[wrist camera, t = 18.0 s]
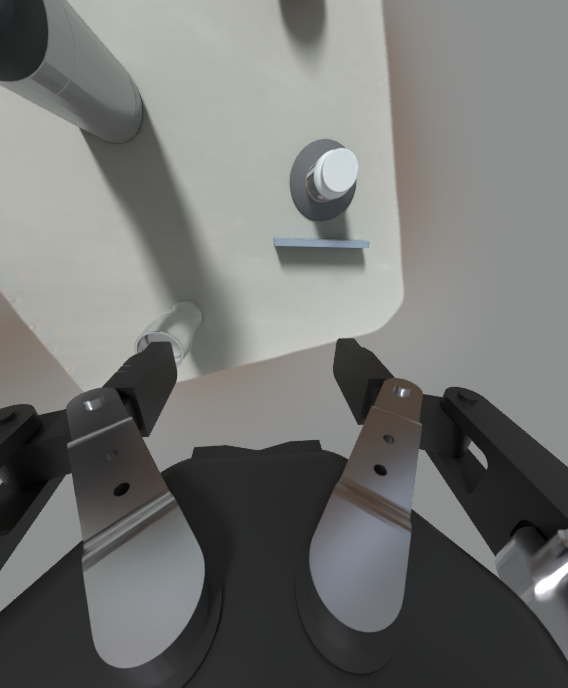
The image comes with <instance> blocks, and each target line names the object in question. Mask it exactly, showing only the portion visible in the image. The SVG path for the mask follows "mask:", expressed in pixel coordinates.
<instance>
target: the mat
mask: <svg viewBox="0 0 568 688" xmlns="http://www.w3.org/2000/svg"><path fill="white" fill-rule="evenodd" d="M339 148H345V147H344V146H343V145H341V144H340V143H338V142H336V141H333V140H329V139H322V140H317V141H315V142H312V143H311V144H309V145H308V146H306V147H305V148H304V149H303V150H302V151H301V152H300V154H299V155H298V156H297V158H296V160H295V162H294V164H293V167H292V170H291V175H290V190H291V195H292V198H293V201H294V203H295V205H296V206H297V208H298V209H299V210H300V211H301V212H302V213H303V214H304V215H306V216H307V217H309V218H311V219H315V220H327V219H331V218H333V217H335V216H337V215H338V214H340V213H341V212H342V211H343V210H344V209H345V208H346V207H347V206H348V204H349V203H350V201H351V199H352V197H353V194H354V191H355V187H356V180H355V182H354V184H353V185H352V186H351V187H350V188H349V190H348V191H347V192H346V193H345V194H344V195H342V196H341V197H339V198H336V199H333V200H330V201H328V202H317V201H315V200H313V199H312V198H311V197H310V196H309V194H308V192H307V189H306V177H307V174H308V171H309V170H310V168H311V167H312V166H313V164H314V163H315V162H316V161H317V160H318V159H319V158H320V157H321V156H322V155H323V154H324V153H326V152H328V151H330V150H336V149H339ZM345 149H346V148H345ZM356 179H357V178H356Z"/></svg>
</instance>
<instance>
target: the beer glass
mask: <svg viewBox="0 0 568 688" xmlns="http://www.w3.org/2000/svg"><path fill="white" fill-rule="evenodd" d="M201 322H202V312H201V310H200V309H199V307H198V306H197V305H195V304H194V303H192V302H189V301H179V302H177V303H175V304H174V305H173V306H172V308H171V309H170V312H169V313H167V314H164V315H162V316H160V317H159V318H157V319H155V320H154V321H153V322H152V323H150V324H149V325H148V327H147V328H146V329H145V330H144V331H143V332H142V334H141V335H140V336H139V337H138V339H137V340H136V342H135V347H134V348H135V354H137V353H139V352H143V351H144V350H145V348H146V347H147V346H148V345H149V344H150V343H151V342H162V341H169V342H170V343H171V344H172V348H173V353H174V358H175V363H176V368H177V367H178V366H179V365H180V364H181V362H182V361H183V359H184V358H185V357H186V355H187V354H188V352H189V350H190V348H191V346H192V344H193V340H194V335H195V329H196V328H197V327H199V325H200V324H201Z"/></svg>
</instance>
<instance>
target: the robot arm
mask: <svg viewBox="0 0 568 688" xmlns="http://www.w3.org/2000/svg"><path fill="white" fill-rule="evenodd" d="M0 85H1V86H3V87H5V88H7V89H8V90H10V91H13V92H14V93H16V94H18V95H20V96H22V97H23V98H25V99H27V100H29V101H31V102H32V103H34V104H36V105H38V106H40V107H42V108H44V109H46V110H48V111H49V112H51V113H53V114H55V115H57V116H59V117H61V118H63V119H64V120H66V121H68V122H70V123H72V124H74V125H76V126H78V127H80V128H82V129H84V130H85V131H87V132H89V133H91V134H93V135H95V136H97V137H99V138H101V139H103V140H105V141H108V142H111V143H122V142H126V141H128V140H130V139H132V138H133V137H134V136H135V135H136V134H137V132H138V130H139V128H140V125H141V122H142V114H143V111H142V102H141V98H140V94H139V91H138V89H137V87H136V84H135V83H134V81H133V79H132V78H131V76H130V74H129V73H128V72H127V71H126V70H125V68H124V67H123V66H122V65H121V64H120V62H119V61H118V60H117V59H116V58H115V57H114V55H113V54H112V53H111V52H110V50H109V49H108V48H107V47H106V46H105V45H104V44H103V42H102V41H101V40H100V39H99V38H98V37H97V35H96V34H95V33H94V32H93V31H92V30H91V28H90V27H89V26H88V25H87V24H86V23H85V21H84V20H83V19H82V18H81V17H80V16H79V14H78V13H77V12H76V11H75V10H74V9H73V7H72V6H71V5H70V4H69V3H68V2H67V1H66V0H0ZM333 373H334V377H335V379H336V381H337V383H338V385H339V387H340V389H341V391H342V393H343V395H344V397H345V399H346V401H347V403H348V405H349V407H350V409H351V411H352V414H353V416H354V418H355V420H356V422H357V424H358V425H363V427H362V429H361V432H360V434H359V436H358V439H357V441H356V444H355V446H354V448H353V450H352V453H351V455H350V458H349V460H348V459H347V458H345V457H343V456H341V455H339V454H336V453H333V452H330V451H326V450H322V448H321V445H320V442H319V440H307V441H290V442H287V443H283V444H279V445H276V446H272V447H269V448H265V449H262V450H251V449H246V448H240V447H234V446H227V445H224V446H207V447H194V450H193V454H192V457H191V458H190V459H186V460H184V461H181V462H179V463H177V464H175V465H173V466H171V467H169V468H167V469H166V470H164V471H163V472H161V473H160V471H159V470H158V468H157V466H156V464H155V462H154V460H153V458H152V456H151V454H150V452H149V450H148V448H147V446H146V444H145V442H144V440H143V438H142V437H149V435H150V433H151V431H152V429H153V427H154V425H155V423H156V421H157V419H158V417H159V415H160V413H161V411H162V409H163V407H164V405H165V404H166V402H167V399H168V397H169V395H170V393H171V392H172V389H173V388H174V386H175V384H176V381H177V368H176V363H175V358H174V353H173V348H172V344H171V343H170V342H169V341H162V342H151V343H150V344H149V345H148V346H147V347H146V348H145V350H144V351H143V352H139V353H137V354H135V355H134V356H132V357H130V358H129V359H128V360H127V361H126V362H125V363H124V364H123V366H121V367H120V368H119V370H118V372H116V373H115V374H114V375H113V376H112V377H111V378H110V379H109V380H108V381H107V382H106V383H105V385H104V386H103V387H102V388H97V389H93V390H89V391H87V392H84V393H82V394H80V395H78V396H77V397H75V398H74V399H72V400H71V401H70V402H69V403H68V405H67V407H66V409H64V410H60V411H56V412H51V413H46V414H42V415H38V414H37V412H36V410H35V408H34V407H33V406H32V405H28V404H19V405H13V406H9V407H5V408H2V409H0V479H1V480H2V481H3V483H2V484H1V485H0V570H1V569H2V567H3V566H4V564H5V563H6V561H7V560H8V559H9V557H10V556H11V554H12V553H13V551H14V550H15V548H16V547H17V545H18V544H19V543H20V541H21V539H22V538H23V537H24V535H25V534H26V532H27V531H28V529H29V528H30V526H31V525H32V523H33V522H34V521H35V519H36V518H37V516H38V515H39V513H40V512H41V510H42V509H43V508H44V506H45V505H46V503H47V502H48V500H49V499H50V497H51V496H52V494H53V493H54V491H55V490H56V489H57V487H58V486H59V484H60V483H61V481H62V480H63V478H64V477H65V475H67V474H70V473H72V478H73V484H74V490H75V496H76V502H77V508H78V514H79V520H80V526H81V532H82V539H83V540H82V541H81V542H80V543H79V544H77V546H75V547H74V548H73V549H72V550H71V551H70V552H69V553H67V554H66V555H65V556H64V557H63V558H61V560H59V561H58V562H57V563H56V564H55V565H54V566H52V567H51V568H50V569H49V570H48V571H47V572H45V573H44V574H43V575H42V576H41V577H40V578H39V579H37V580H36V581H35V582H34V583H33V584H32V585H31V586H29V587H28V588H27V589H26V590H25V591H24V592H23V593H21V594H20V595H19V596H18V597H17V598H16V599H15V600H13V601H12V602H11V603H10V604H9V605H8V606H7V607H6V608H4V609H3V610H2V611H1V612H0V688H568V467H567V466H566V465H565V464H563V463H562V462H561V461H560V460H559V459H557V458H556V457H555V456H554V455H553V454H551V453H550V452H549V451H548V450H547V449H545V448H544V447H543V446H542V445H541V444H539V443H538V442H537V441H536V440H535V439H533V438H532V437H531V436H530V435H529V434H527V433H526V432H525V431H524V430H522V429H521V428H520V427H519V426H518V425H517V424H515V423H514V422H513V421H512V420H511V419H509V418H508V417H507V416H506V415H505V414H503V413H502V412H501V411H500V410H499V409H497V408H496V407H495V406H494V405H492V404H491V403H490V402H489V401H488V400H487V399H485V398H484V397H483V396H481V395H480V394H478V393H476V392H474V391H471V390H468V389H465V388H461V387H449V388H447V389H446V390H445V392H444V395H443V397H438V396H432V395H425V394H423V392H422V390H421V389H420V388H419V387H418V386H417V385H416V384H414V383H412V382H410V381H408V380H405V379H400V378H395V377H394V376H393V375H392V374H391V373H390V372H389V371H388V369H387V368H386V367H385V366H384V365H383V364H382V363H381V362H380V360H379V359H378V358H377V357H376V356H375V355H374V354H373V352H371V351H369V350H367V349H366V348H362V347H361V346H360V345H359V344H358V343H357V341H355V339H354V338H339V339H338V340H337V343H336V350H335V357H334V364H333ZM471 441H473V442H474V443H475V444H476V446H477V447H478V448H479V449H480V450H481V451H482V452H483V453H484V455H485V457H486V459H487V462H488V468H487V470H486V469H485V468H484V467H483V465H482V464H481V463H480V462H479V461H478V460H477V459H476V457H475V456H474V455H473V454H472V453H471V451H470V450H469V449H468V446H469V445H470V443H471ZM419 449H421V450H425V451H426V453H427V454H428V456H429V457H430V459H431V460H432V462H433V463H434V465H435V466H436V467H437V469H438V471H439V472H440V474H441V475H442V477H443V478H444V480H445V481H446V483H447V484H448V486H449V487H450V489H451V490H452V492H453V493H454V495H455V496H456V498H457V499H458V501H459V502H460V504H461V505H462V507H463V508H464V510H465V511H466V513H467V514H468V516H469V517H470V519H471V520H472V522H473V523H474V525H475V526H476V528H477V529H478V531H479V532H480V534H481V535H482V537H483V538H484V540H485V542H486V543H487V545H488V546H489V548H490V549H491V551H492V552H493V554H494V555H495V557H496V560H495V564H496V569H497V572H498V575H499V577H500V579H499V578H498V577H497V576H496V575H494V574H493V573H491V571H489V570H488V569H487V568H485V567H484V566H483V565H482V564H480V563H479V562H478V561H477V560H475V559H474V558H473V557H472V556H470V555H469V554H468V553H467V552H465V551H464V550H463V549H462V548H460V547H459V546H458V545H457V544H455V543H454V542H453V541H452V540H450V539H449V538H448V537H446V536H445V535H444V534H443V533H442V532H440V531H439V530H438V529H436V528H435V527H434V526H433V525H431V524H430V523H429V522H428V521H426V520H425V519H424V518H423V517H421V516H420V515H419V514H417V513H416V512H415V511H414V510H412V509H411V506H412V498H413V490H414V483H415V475H416V467H417V459H418V452H419Z"/></svg>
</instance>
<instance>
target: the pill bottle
mask: <svg viewBox="0 0 568 688" xmlns="http://www.w3.org/2000/svg"><path fill="white" fill-rule="evenodd" d="M357 175H358V162H357V159H356V157H355V155H354V154H353V153H352V152H351V151H350V150H348V149H345V148H339V149H336V150H330V151H328V152H326V153H324V154H323V155H322V156H321V157H320V158H319V159H318V160H317V161H316V162H315V163H314V164H313V166H312V167H311V168H310V170H309V171H308V174H307V177H306V189H307V192H308V194H309V196H310V197H311V198H312V199H313V200H315V201H317V202H328V201H330V200H333V199H336V198H339V197H341V196H342V195H344V194H345V193H346V192H347V191H348V190H349V188H350V187H351V186H352V185H353V184H354V182H355V180H356V178H357Z"/></svg>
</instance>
